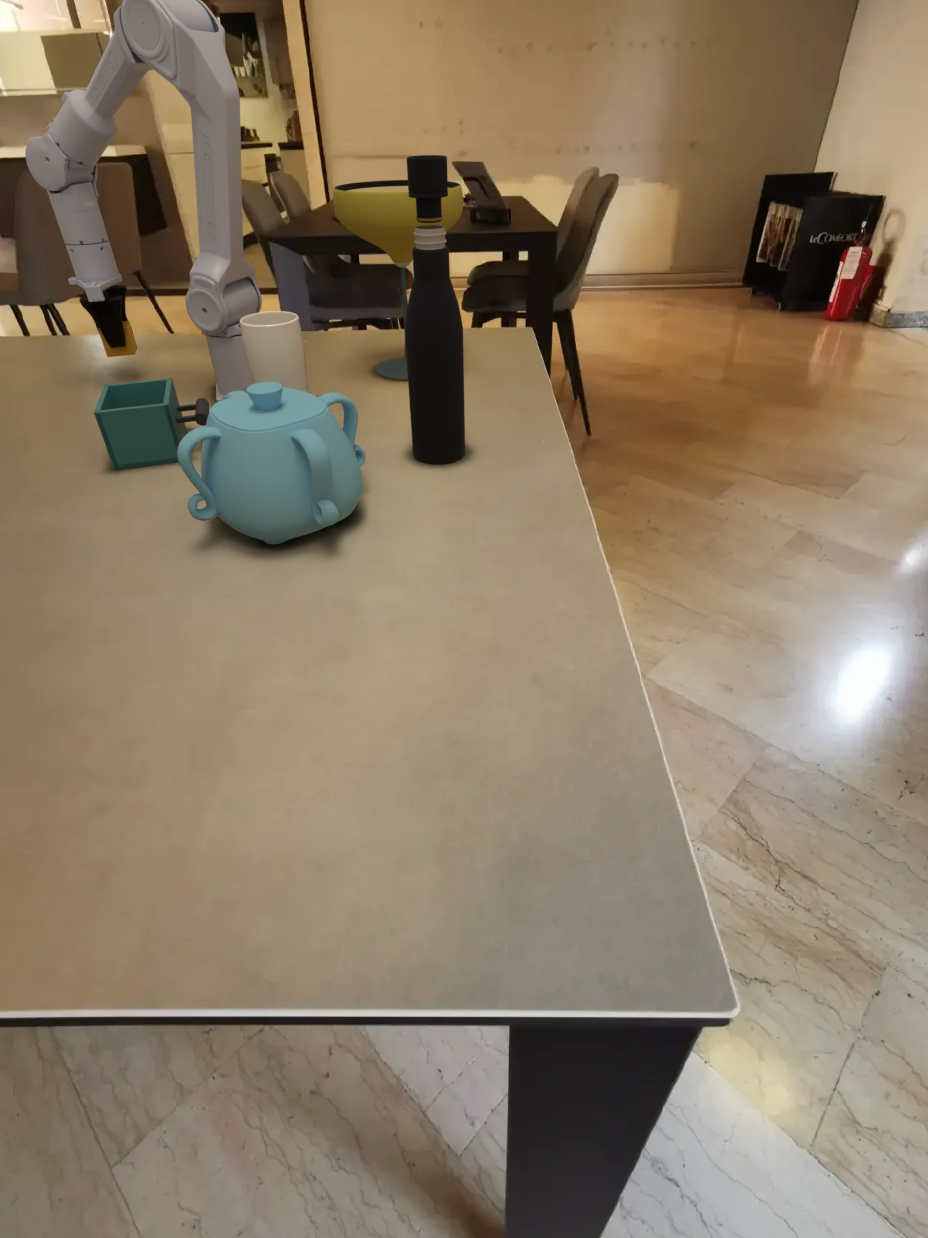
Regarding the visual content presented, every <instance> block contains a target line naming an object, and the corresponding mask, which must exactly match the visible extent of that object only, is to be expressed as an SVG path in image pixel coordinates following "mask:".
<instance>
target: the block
mask: <svg viewBox="0 0 928 1238" xmlns="http://www.w3.org/2000/svg"><path fill="white" fill-rule="evenodd" d="M122 323H123V328H124V334H125V347H116V348H111V347H110V346H109V344H108V343H107V341H106V339H105V338H104V336H103V334H102V332H101V330H100V329H99V328H98V333H99V336H100V339H101V342H102V345H103V348H104V351H105V354H106V357H107V358H113V357H124V356H135V355H136V353H137V350H138V345H137V342H136V337H135V334H134V333H133V332H134V331H133V328H132V326H131V325H132V324H131V322H130V320H127V321H122Z"/></svg>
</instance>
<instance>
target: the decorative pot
mask: <svg viewBox="0 0 928 1238" xmlns="http://www.w3.org/2000/svg"><path fill="white" fill-rule="evenodd" d="M246 390H247V393H246V392H244V391H233V392H230V393H229V394H227V395H226V396H225V398H224V400H222V401H219V402H217V401H216V402H215V403H214V404H213V405H212V407H210V408H209V415H208V418H207V422H206V425H205V426H200V427H196V428H194V429H192V430H190V431H189V432H187V434H186V435H185V436H184V437H183V439H182V440H181V441H180V443H179V446H178V450H177V456H178V461H179V462H178V464H179V466H180V468H181V470H182V471H183V473H184V475H185V476H186V478H187V479H188V480H189V481H190V483H191V484H192V486H193V487H194V488H195V489H196V490H197V492H198V493H195V494H194V493H193V494H192V495H191V496H190V497H189V498H188V501H187V510H188V513H189V515H190V516H191V517H192V518H194V519H195V520H198V521H203V522H205V521H211V520H214V519H215V518H216V517H217V516H218V517H219V519H221V520H222V521H223V522H224V523H226V524H227V525H228V526H230V527H231V528H232V529H234V530H235V531H237V532H239V533H241V534H243V535H245V536H247V537H250V538H253V539H257V540H260V541H263V542H264V543H265V544H269V545H278V544H282V543H285V542H287V541H288V540H291V539H295V538H299V537H303V536H306V535H309V534H312V533H314V532H317V531H320V530H322V529H325V528H328V527H330V526H333V525H334V524H337V523H339V522H340V521H342V520H345V519H346V518H347V517H349V516H350V515H351V514H352V513H353V512H354V510H355V509H356V507H357V505H358V503H359V501H360V500H361V497H362V495H363V492H364V480H363V473H362V470H361V467H362V466H363V465H364V464H365V462H366V453H365V449H363V447H362V446H361V445H359V444H357V443H356V436H357V431H358V424H359V423H358V422H359V414H358V409H357V406H356V405H355V403H354V401H353V400H352V399H351V398H350V397H348V396H347V395H345V394H344V393H343V394H342V393H340V392H333V391H332V392H330V391H329V392H325V393H323V394H321V395H319V396H316V395H314V394H312V393H310V392H308V393H307V392H304V391H301V390H297V389H292V388H282V385H281V384H279V383H276V382H259V383H255V384H253V385H251V386H249V387H248V388H247V389H246ZM335 404H340V405H341V406H342V409H343V424H342V426H341V424H340V423H339V421H338V420H337V418H336V417H335V416H334V413H333V412H332V411H331V410H330V408H329V407H330V406H333V405H335ZM200 443H201V450H200V474H199V472H198V471H197V469H196V468H195V466H194V463H193V461H192V457H191V456H192V451H193V449H194V448H195V447H196V446H197V445H198V444H200ZM203 501H205V507H204V508H201V509H200V508H198V503H200V502H203Z"/></svg>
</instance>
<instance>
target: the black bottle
mask: <svg viewBox="0 0 928 1238" xmlns="http://www.w3.org/2000/svg"><path fill="white" fill-rule="evenodd" d="M406 172H407V173H406V174H407V180H408V191H409V192H408V193H409V197H410V198H416V212H417V217H416V220H417V222H420V223H436V222H441V221H442V219H443V217H442V208H441V198H442V197H447V196H448V181H449V180H448V178H449V177H448V156H447V155H444V154H443V155H442V154H424V155H423V154H422V155H409V156H407V157H406ZM413 234H414V235H415V240H414V243H415V244H416V247H414V248H413V250H412V253H413V260H412V265H413V266H412V268H413V269H412V271H413V281H412V285H411V289H410V293H409V297H408V300H407V313H406V322H405V329H404V344H405V343H406V357H407V372H408V380H407V383H408V384H407V385H408V400H409V415H410V432H411V445H412V455H413V457H414V458H415V460H417V461H419V462H422V463H425V464H431V465H443V464H445V465H446V464H451V463H453V462H454V463H455V462H457V461H459V460H461V459H462V458H463V457H464V456H465V455H466V419H465V417H466V415H465V361H464V360H465V359H464V355H465V354H464V326H463V319H462V314H461V309H460V305H459V301H458V297H457V294H456V292H455V288H454V285H453V283H452V279H451V275H450V249H449V247H448V246H446V243H447V239H446V235H447V231H445V227H444V226H441V225H422V226H417V227H415V232H414V233H413Z"/></svg>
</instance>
